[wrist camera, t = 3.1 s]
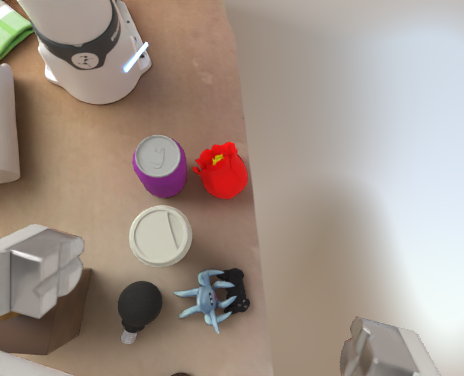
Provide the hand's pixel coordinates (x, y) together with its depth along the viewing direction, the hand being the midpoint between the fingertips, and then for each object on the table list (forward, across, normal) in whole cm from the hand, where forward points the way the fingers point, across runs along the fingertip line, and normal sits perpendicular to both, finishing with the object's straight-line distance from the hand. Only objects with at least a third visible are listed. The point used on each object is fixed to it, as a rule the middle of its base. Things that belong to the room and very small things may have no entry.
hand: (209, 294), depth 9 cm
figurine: (+37, +3, +28) cm, 46 cm away
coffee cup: (+39, +13, +20) cm, 46 cm away
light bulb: (+33, +14, +30) cm, 47 cm away
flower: (+44, +5, +11) cm, 46 cm away
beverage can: (+44, +17, +11) cm, 48 cm away
